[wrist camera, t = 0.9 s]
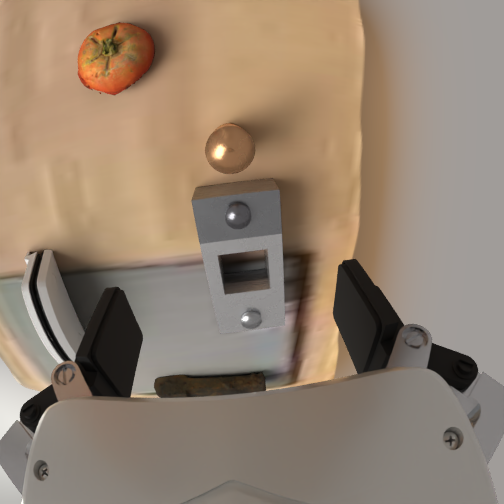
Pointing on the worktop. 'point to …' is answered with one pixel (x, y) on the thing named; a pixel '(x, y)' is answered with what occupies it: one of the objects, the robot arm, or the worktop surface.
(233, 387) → the dark brown rounded rod
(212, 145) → the pin
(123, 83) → the tomato
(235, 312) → the grey latch plate
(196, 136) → the worktop surface
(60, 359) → the grey toaster
